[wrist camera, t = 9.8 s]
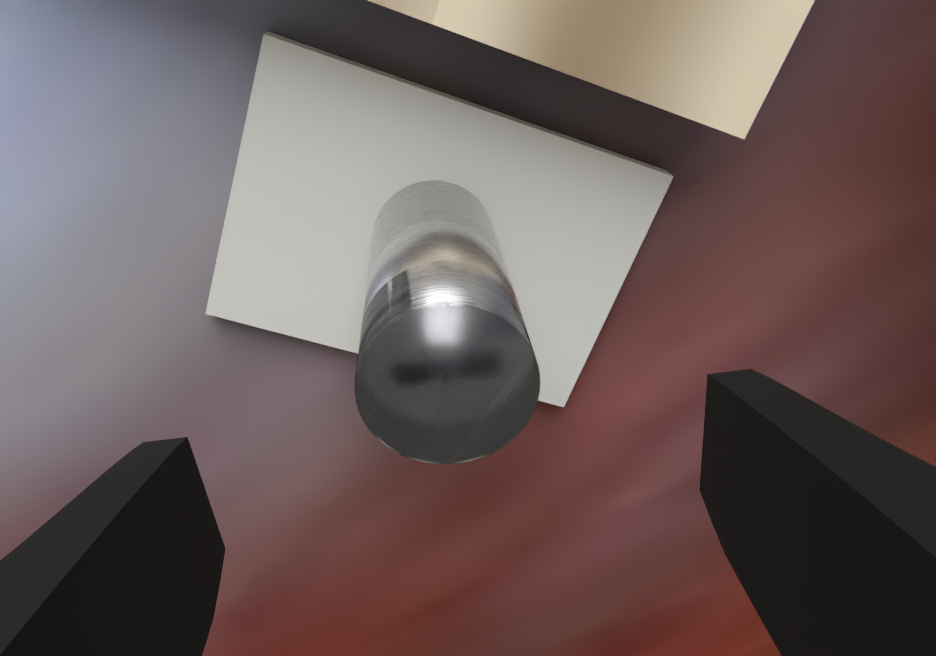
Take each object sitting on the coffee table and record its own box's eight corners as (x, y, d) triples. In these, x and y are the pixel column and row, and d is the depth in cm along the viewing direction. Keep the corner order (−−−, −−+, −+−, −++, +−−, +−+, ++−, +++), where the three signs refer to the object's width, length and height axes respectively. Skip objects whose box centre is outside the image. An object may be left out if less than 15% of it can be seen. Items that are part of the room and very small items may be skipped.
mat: (665, 170, 18) (673, 176, 17) (559, 395, 21) (563, 407, 20) (268, 31, 16) (263, 33, 15) (211, 303, 19) (205, 313, 18)
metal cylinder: (479, 167, 17) (520, 284, 11) (504, 279, 18) (554, 441, 12) (357, 197, 17) (329, 331, 11) (391, 306, 19) (384, 480, 12)
